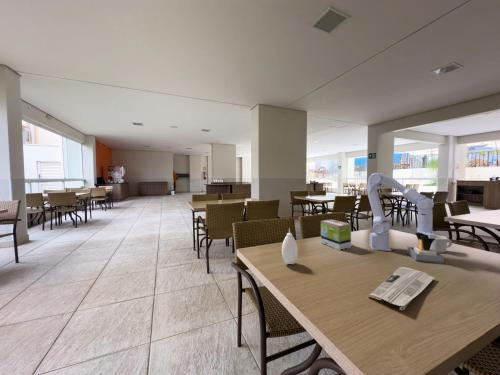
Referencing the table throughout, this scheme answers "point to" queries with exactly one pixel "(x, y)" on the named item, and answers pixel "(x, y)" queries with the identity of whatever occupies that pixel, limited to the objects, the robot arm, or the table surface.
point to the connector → (421, 245)
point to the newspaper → (402, 286)
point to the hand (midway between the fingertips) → (424, 248)
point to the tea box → (336, 234)
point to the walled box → (425, 255)
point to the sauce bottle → (289, 249)
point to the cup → (440, 243)
